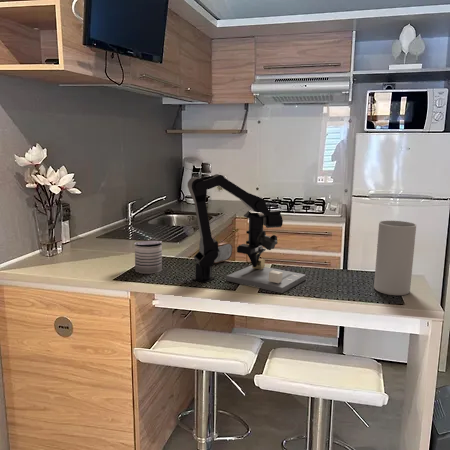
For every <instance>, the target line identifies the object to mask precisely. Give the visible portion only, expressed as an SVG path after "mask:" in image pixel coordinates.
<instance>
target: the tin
mask: <svg viewBox="0 0 450 450" xmlns="http://www.w3.org/2000/svg"><path fill="white" fill-rule="evenodd" d="M218 249H219V251H220V252H218V257H217V259H216V260H215V261H214V263H213V264H219V263H222V262H223V263H224V262H226V261H228V260H230V258H231V257H232V255H233V245H232V244H231V243H230V242H227V241H221V242H218Z"/></svg>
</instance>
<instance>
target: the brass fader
mask: <svg viewBox="0 0 450 450" xmlns="http://www.w3.org/2000/svg"><path fill="white" fill-rule="evenodd" d="M265 262H266V260H265V259H263V258H259V260H258V263H257V266H256V267H253V265H252V264H251V265H252V268H255V269H260V270H261V269H263V268H264V267H266V266H265Z"/></svg>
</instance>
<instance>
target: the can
mask: <svg viewBox="0 0 450 450" xmlns="http://www.w3.org/2000/svg"><path fill="white" fill-rule="evenodd" d="M162 243H163V241H162V240H142V241H135V242H134V243H133V245H134V271H135V272H136V273H138V272H139V274H147V275H148V274H150V275H151V274H157V273H160V272H161V271H163V252H162V251H163V248H162V247H163V245H162Z"/></svg>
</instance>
